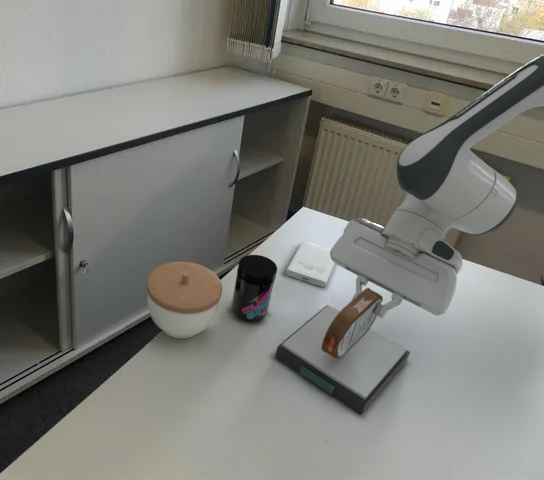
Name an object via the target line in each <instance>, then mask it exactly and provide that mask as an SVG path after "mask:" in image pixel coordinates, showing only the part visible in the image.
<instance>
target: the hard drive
mask: <svg viewBox="0 0 544 480" xmlns="http://www.w3.org/2000/svg"><path fill="white" fill-rule="evenodd" d="M331 249H332V248H329V247H326V246H323V245H319V244H315V243H312V242H310V241H305V240H302V241H301V242H300V244H299V247H298V248H297V250H296V251H295V254H294V255H293V257H292V259H291V260H290V263H289V264H288V266H287V267H286V269H285V270H286V271H285V276H288V277H290V278H293V279H296V280H299V281H303V282H305V283H308V284H311V285H315V286H317V287H321V288H326V285H327V284H328V281H329V279H330V276H331V273H332V272H333V269H334V266H335V265H336V264H335V263H334V262H333V261H332V259H331V257H330V251H331Z"/></svg>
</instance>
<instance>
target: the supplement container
mask: <svg viewBox="0 0 544 480" xmlns="http://www.w3.org/2000/svg"><path fill="white" fill-rule="evenodd" d="M277 273H278V265H277V264H276V263H275V261H273V260H272V259H271V258H269V257H268V256H267V257H266V256H264V255H260V254H248V255H247V254H246V255H245V256H242V257H241V258H240V259H239V260H238V265H237V270H236V277H235V283H234V288H233V289H234V290H233V294H232V300H231V306H230V307H231V311H232V313H233V315H234V316H235V317H236V318H237V319H239V320H240V321H243V322H247V323H259V322H260V321H262V320H264V319H265V318H266V316H267V315H268V312H269V307H270V303H271V299H272V294H273V289H274V285H275V280H276V278H277Z"/></svg>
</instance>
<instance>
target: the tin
mask: <svg viewBox="0 0 544 480" xmlns="http://www.w3.org/2000/svg"><path fill="white" fill-rule="evenodd" d="M383 300H384V298H383V296H382V295H381V294H380V293H378V292H376V291H374V290H372V289H371V288H369V287H367V288H365V289H363V290H362V292H361V293H360V294H359V295H358V296H357V297H356V298H354V299H353V300H352V299H351V300H350V302H348V303H347V305H345V306H344V307H343V308H342V309H340V310H339V311H340V312H339V313H338V314H337V315H336V317H335V318H334V320H333V321H332V323H331V324H330V326H329V328H328V330H327V332H326V334H325V336H324V339H323V342H322V351H323V352H326V353H327V354H329V355H331V356H332V357H334V358H337V359H338V358H341V357H342V356H343V355H344V354H345V353H346V352H348V351H349V350H350V349H351V348H352V347H353V346H354V345H355V344H356V343H357V342H358V341H359V340H360V339H361V338H362V337H363V336H364V335H365V334H366V332H367V331H368V330H369V328H371V327H372V326H373V324H374V322H375V320H376V319H377V317H378V316H377V315H375V314H374V313H373V312H374V310H375V309H376V308H377V305H378V303H380V304H382V303H383Z"/></svg>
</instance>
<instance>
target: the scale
mask: <svg viewBox="0 0 544 480" xmlns="http://www.w3.org/2000/svg"><path fill="white" fill-rule="evenodd" d="M340 311H341V310H339V309H337V308H336V307H333V306H332V305H330V304H326V305H325V306H324V307H323V308H322V309H320V310H319V311H318V312H317V313H316V314H314V316H312V317H311V318H310V319H308V320H307V321H306V322H305V323H304V324H303V325H301V326H300V327H299V328H298V329H296V330H295V331H294V332H293V333H292V334H291V335H290V336H288V337H287V338H286V339H285V340H283V341H282V342H281V343H280V344H279V345H277V347H276V350H275V355H274V358H275V359H277V360H279V361H280V362H281V363H283V364H284V365H286V367H289V368H291V370H293V371H295V372H296V373H298V374H299V375H301V376H302V377H304V378H305V379H307V380H308V381H310V382H311V383H313V384H314V385H315V386H317V387H319V388H321V390H323V391H325V392H327V393H328V394H329V395H331V396H332V397H334V398H335V399H337V400H339V401H340V402H341V403H342V404H345V405H346V406H347V407H349V408H351V409H352V410H354V411H355V412H356V413H358V414H359V415H363V414H364V413H365V412H366V410H368V408H369V407H370V406H371V404H373V402H374V401H375V400H376V398H377V397H378V396H379V395H380V393H382V391H383V390H384V389H385V388H386V387H387V385H388V384H389V383H390V381H392V380H393V378H394V377H395V376H396V375H397V373H398V372H399V371H400V370H401V369H402V368H403V366H404V365H405V364H407V361H408V358H409V356H410V354H411V351H410V350H408V348H406V347H404V346H402V345H400V344H399V343H398V342H396V341H394V340H393V339H391V338H389V337H387V336H385V335H383V334H382V333H379V332H378V331H376V330H375V329H373V328H371V327H370V328H369V330H368V331H367V332H366V334H365V335H364V336H363V337H362V338H361V339H360V340H359V341H358V342H357V343H356V344H355V345H354V346H353V347H352V348H351V349H350V350H349V351H348V352H346V353H345V354H344V355H343V356H342V357H341V358H338V359H337V358H334V357H332V356H331V355H329V354H327V353H326V352H323V351H322V342H323V339H324V336H325V334H326V332H327V330H328V328H329V326H330V324H331V323H332V321H333V320H334V318H335V317H336V315H337V314H338V313H339V312H340Z"/></svg>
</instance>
